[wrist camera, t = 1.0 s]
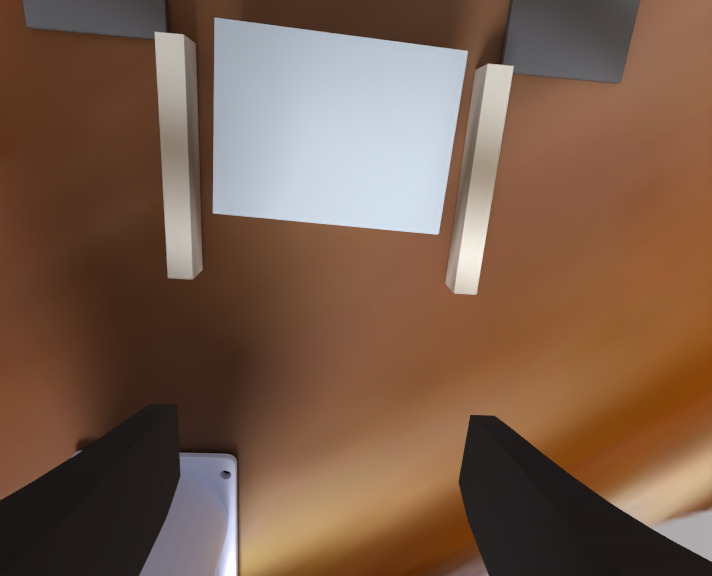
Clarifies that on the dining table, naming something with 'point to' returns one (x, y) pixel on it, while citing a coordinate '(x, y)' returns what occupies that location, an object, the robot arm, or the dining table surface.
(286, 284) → the dining table surface
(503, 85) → the trap lane
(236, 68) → the block
